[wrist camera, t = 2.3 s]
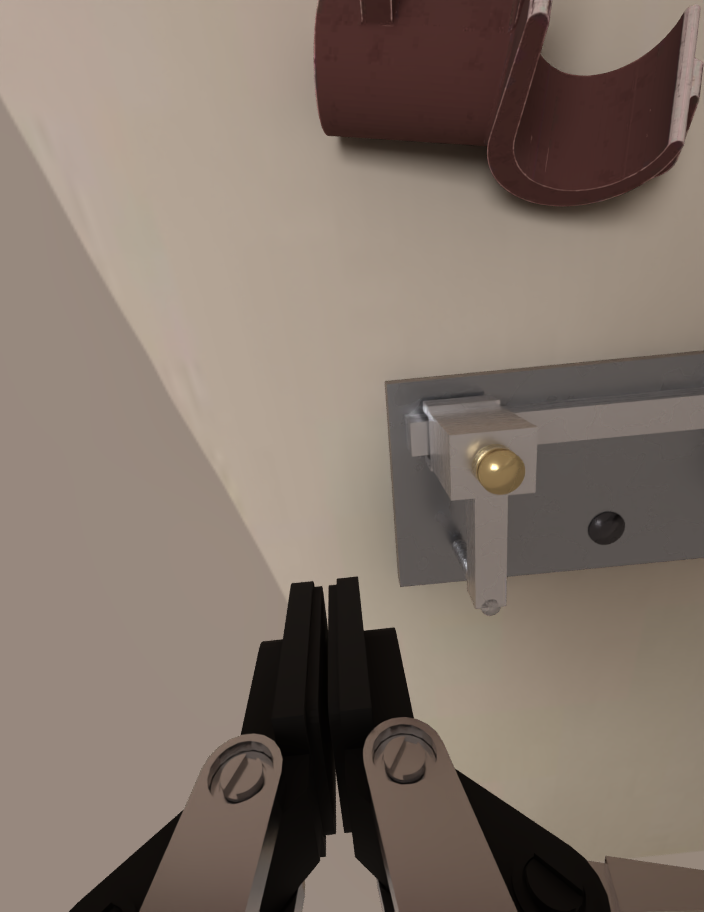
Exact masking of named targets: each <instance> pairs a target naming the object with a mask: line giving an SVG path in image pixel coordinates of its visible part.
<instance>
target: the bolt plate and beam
mask: <svg viewBox="0 0 704 912" xmlns="http://www.w3.org/2000/svg"><path fill="white" fill-rule="evenodd" d="M385 393H386V407H387V422H388V436H389V451H390V465H391V480H392V494H393V509H394V523H395V538H396V552H397V567H398V578H399V583H400V587H404V586H415V585H425V584H435V583H446V582H456V581H467V579H466V577H465V575H464V573H463V570H462V568H461V566H460V564H459V562H458V560H457V558H456V556H455V554H454V552H453V550H452V544H453V542H454V541H456V540H458V539H461V540H464V541H465V542H466V543H467V532H466V499H464V500H454V501H451V499H450V498H449V496H448V494H447V493H446V491H445V489H444V488H443V486H442V484H441V483H440V481H439V479H438V478H437V476H436V474H435V473H434V471H430V469H429V467H428V466H427V464H426V462H425V455H430V438H429V417H428V416H427V415H426V414H425V413H424V411H423V401H429V400H440V399H450V398H460V397H471V396H481V395H492V396H494V397H496V398H497V399H499V400H500V406H502V407H504V408H506V409H507V410H509V411H511V412H513V413H514V414H516V415H518V416H519V417H521V418H523V419H525V420H526V421H528V422H530V423H532V424H533V425H535V426H537V427H538V435H537V464H536V493H526V494H516V495H508V524H507V577H508V576H518V575H529V574H539V573H550V572H560V571H570V570H581V569H591V568H602V567H612V566H622V565H633V564H643V563H654V562H664V561H674V560H685V559H695V558H704V351H695V352H685V353H674V354H664V355H653V356H643V357H632V358H622V359H612V360H601V361H591V362H580V363H570V364H559V365H549V366H539V367H528V368H518V369H507V370H497V371H486V372H476V373H465V374H455V375H445V376H434V377H424V378H413V379H403V380H392V381H385Z"/></svg>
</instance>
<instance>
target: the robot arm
mask: <svg viewBox="0 0 704 912" xmlns="http://www.w3.org/2000/svg"><path fill="white" fill-rule="evenodd" d="M335 769H336V771H335ZM336 776H337V783H338V791H339V797H340V805H341V813H342V820H343V827H344V833H349V832H352V836H353V844H354V852H355V857H356V858H357V859H358V860H359V861H360V862H361V863H362V864H363V865H364V866H365V867H366V868H367V869H368V870H369V871H370V872H371V873H372V874H373V875H374V876H375V877H376V878H377V886H378V892H379V897H380V902H381V907H382V911H383V912H704V870H698V869H691V868H684V867H678V866H670V865H664V864H657V863H651V862H643V861H637V860H631V859H624V858H617V857H611V856H605V863H600V862H593V861H587V860H586V859H585V858H584V857H583V856H582V855H580V854H579V853H578V852H577V851H576V850H574V849H573V848H572V847H571V846H569V845H568V844H566V843H565V842H564V841H562V840H561V839H559V838H558V837H556V836H555V835H553V834H552V833H550V832H549V831H547V830H546V829H544V828H543V827H541V826H540V825H538V824H537V823H535V822H534V821H532V820H531V819H529V818H528V817H526V816H525V815H523V814H522V813H520V812H519V811H517V810H516V809H514V808H513V807H511V806H510V805H508V804H507V803H505V802H504V801H502V800H501V799H499V798H498V797H497V796H495V795H494V794H492V793H491V792H489V791H488V790H486V789H485V788H483V787H482V786H480V785H479V784H477V783H476V782H474V781H473V780H471V779H470V778H468V777H467V776H465V775H464V774H462V773H461V772H459V771H458V770H456V769H455V768H454V766H453V763H452V761H451V759H450V757H449V754H448V752H447V750H446V747H445V745H444V743H443V741H442V740H441V738H440V736H439V735H438V733H437V732H436V731H435V730H434V729H433V728H431V727H430V726H429V725H428V724H426V723H424V722H422V721H420V720H418V719H414V717H413V712H412V707H411V702H410V697H409V692H408V688H407V683H406V678H405V673H404V668H403V663H402V658H401V654H400V649H399V644H398V639H397V634H396V630H395V628H385V629H376V630H366V631H364V630H363V620H362V611H361V601H360V591H359V582H358V577H348V578H339V579H337V585H329V606H328V626H327V618H326V610H325V602H324V594H323V588H322V586H319V587H315V586H314V582H313V581H310V582H301V583H292V584H291V588H290V595H289V602H288V608H287V616H286V622H285V629H284V636H283V639H282V640H273V641H263V642H262V643H261V644H260V648H259V652H258V657H257V661H256V666H255V671H254V676H253V680H252V685H251V689H250V694H249V699H248V703H247V708H246V713H245V717H244V722H243V727H242V731H241V735H240V736H238V737H235V738H232V739H230V740H228V741H227V742H225V743H224V744H222V745H221V746H219V747H218V748H217V749H216V750H215V751H214V752H213V753H212V754H211V755H210V756H209V757H208V759H207V760H206V762H205V764H204V765H203V767H202V769H201V771H200V773H199V776H198V778H197V780H196V782H195V785H194V787H193V789H192V792H191V794H190V796H189V799H188V801H187V803H186V805H185V808H184V810H183V811H181V812H180V813H179V814H178V815H177V816H176V817H175V818H174V819H172V820H171V821H170V822H169V823H168V824H167V825H166V826H165V827H163V828H162V829H161V830H160V831H159V832H158V833H157V834H155V835H154V836H153V837H152V838H151V839H150V840H149V841H148V842H146V843H145V844H144V845H143V846H142V847H141V848H139V849H138V850H137V851H136V852H135V853H134V854H133V855H131V856H130V857H129V858H128V859H127V860H126V861H125V862H124V863H122V864H121V865H120V866H119V867H118V868H117V869H116V870H114V871H113V872H112V873H111V874H110V875H109V876H108V877H106V878H105V879H104V880H103V881H102V882H101V883H100V884H98V885H97V886H96V887H95V888H94V889H93V890H92V891H91V892H90V893H88V894H87V895H86V896H85V897H84V898H82V899H81V900H80V901H79V902H78V903H77V904H76V905H75V906H74V907H73V908H72V909H71V910H70V911H69V912H302V909H303V903H304V897H305V879H306V878H307V877H308V875H309V874H310V873H311V871H312V870H313V869H314V868H315V867H316V865H317V864H318V863H319V861H320V857H325V856H326V835H332V834H336Z"/></svg>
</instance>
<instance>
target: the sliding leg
mask: <svg viewBox="0 0 704 912" xmlns="http://www.w3.org/2000/svg"><path fill="white" fill-rule="evenodd" d="M423 411H424V413H425V414H426V415H427V416H428V417H429V438H430V455H425V462H426V464H427V466H428V467H429V469H430V471H434V473H435V474H436V476H437V478H438V479H439V481H440V483H441V484H442V486H443V488H444V489H445V491H446V493H447V494H448V496H449V498H450V499H451V501H454V500H464V499H466V532H467V543H466V542H465V541H464V540H461V539H458V540H456V541H454V542H453V544H452V550H453V552H454V554H455V556H456V558H457V560H458V562H459V564H460V566H461V568H462V570H463V573H464V575H465V577H466V579H467V591H468V593H469V595H470V598H471V600H472V602H473V604H474V606H475V608H476V609H480V608H481V610H482V612H483V613H484V614H485V615H489V616H491V615H495V614H496V613H498V612H499V610H500V607H501V606H506V591H507V524H508V495H516V494H526V493H536V464H537V435H538V427H537V426H535V425H533V424H532V423H530V422H528V421H526V420H525V419H523V418H521V417H519V416H518V415H516V414H514V413H513V412H511V411H509V410H507V409H506V408H504V407H502V406H500V400H499V399H497V398H496V397H494V396H492V395H481V396H471V397H460V398H450V399H440V400H429V401H423Z"/></svg>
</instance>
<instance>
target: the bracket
mask: <svg viewBox="0 0 704 912" xmlns="http://www.w3.org/2000/svg"><path fill="white" fill-rule="evenodd" d="M551 7H552V0H318V3H317V9H316V18H315V31H314V80H315V93H316V101H317V108H318V114H319V119H320V122H321V126H322V129H323V131H324V133H325V134H326V135H327V136H340V137H356V138H371V139H387V140H402V141H418V142H433V143H448V144H463V145H478V146H487V159H488V164H489V168H490V170H491V172H492V174H493V176H494V178H495V179H496V180H497V182H498V183H499V184H500V185H501V186H502V187H503V188H504V189H506V190H507V191H508V192H510V193H511V194H513V195H515V196H517V197H519V198H521V199H524V200H526V201H529V202H533V203H537V204H542V205H549V206H577V205H585V204H591V203H595V202H600V201H604V200H607V199H610V198H613V197H616V196H619V195H621V194H624V193H626V192H628V191H630V190H632V189H634V188H636V187H638V186H640V185H642V184H643V183H645V182H647V181H648V180H650V179H651V178H655V177H657V176H660V175H662V174H664V173H665V172H667V171H668V170H670V169H671V168H672V167H673V166H674V165H675V163H676V162H677V160H678V157H679V155H680V152H681V149H682V148H683V146H684V143H685V138H686V135H687V133H688V130H689V127H690V124H691V122H692V119H693V116H694V113H695V111H696V108H697V105H698V102H699V97H700V89H701V81H702V72H703V62H702V61H701V60H698V59H696V58H695V51H696V43H697V35H698V26H699V18H700V10H701V7H700V6H699V5H692V6H690V7H688V8H687V9H686V10H685V12H684V13H683V15H682V16H681V18H680V20H679V21H678V22H677V24H676V25H675V27H674V28H673V29H672V30H671V32H670V33H669V34H668V35H667V36H666V37H665V38H664V39H663V40H662V41H661V42H660V43H659V44H658V45H657V46H655V47H654V48H653V49H652V50H651V51H649V52H648V53H647V54H645V55H644V56H642V57H641V58H639V59H637V60H636V61H634V62H632V63H630V64H628V65H626V66H624V67H622V68H620V69H617V70H614V71H611V72H608V73H603V74H598V75H590V76H580V75H572V74H568V73H564V72H562V71H559V70H557V69H555V68H554V67H552V66H551V65H550V64H548V63H547V62H546V61H545V60H544V59H543V57H542V56H541V54H540V53H541V49H542V46H543V42H544V39H545V36H546V32H547V29H548V25H549V20H550V13H551Z"/></svg>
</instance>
